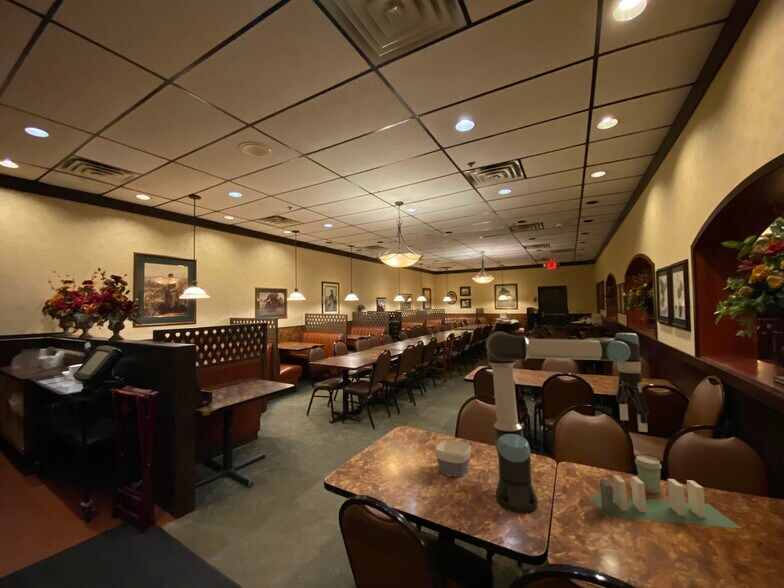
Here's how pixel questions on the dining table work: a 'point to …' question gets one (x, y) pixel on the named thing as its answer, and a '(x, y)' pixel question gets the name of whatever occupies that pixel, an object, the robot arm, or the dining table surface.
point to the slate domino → (607, 497)
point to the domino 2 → (638, 494)
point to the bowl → (453, 457)
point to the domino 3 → (676, 497)
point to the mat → (668, 513)
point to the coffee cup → (649, 473)
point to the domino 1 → (620, 492)
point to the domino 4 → (696, 498)
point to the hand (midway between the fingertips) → (633, 425)
